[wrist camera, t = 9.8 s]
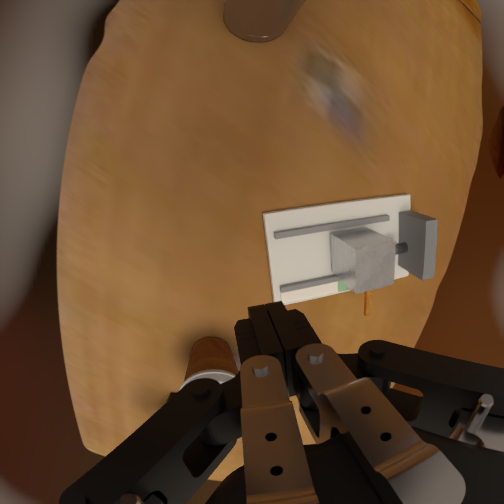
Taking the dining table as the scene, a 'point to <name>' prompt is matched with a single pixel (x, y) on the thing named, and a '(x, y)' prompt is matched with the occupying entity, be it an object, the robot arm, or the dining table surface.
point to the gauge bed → (319, 247)
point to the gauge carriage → (364, 260)
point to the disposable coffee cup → (211, 361)
